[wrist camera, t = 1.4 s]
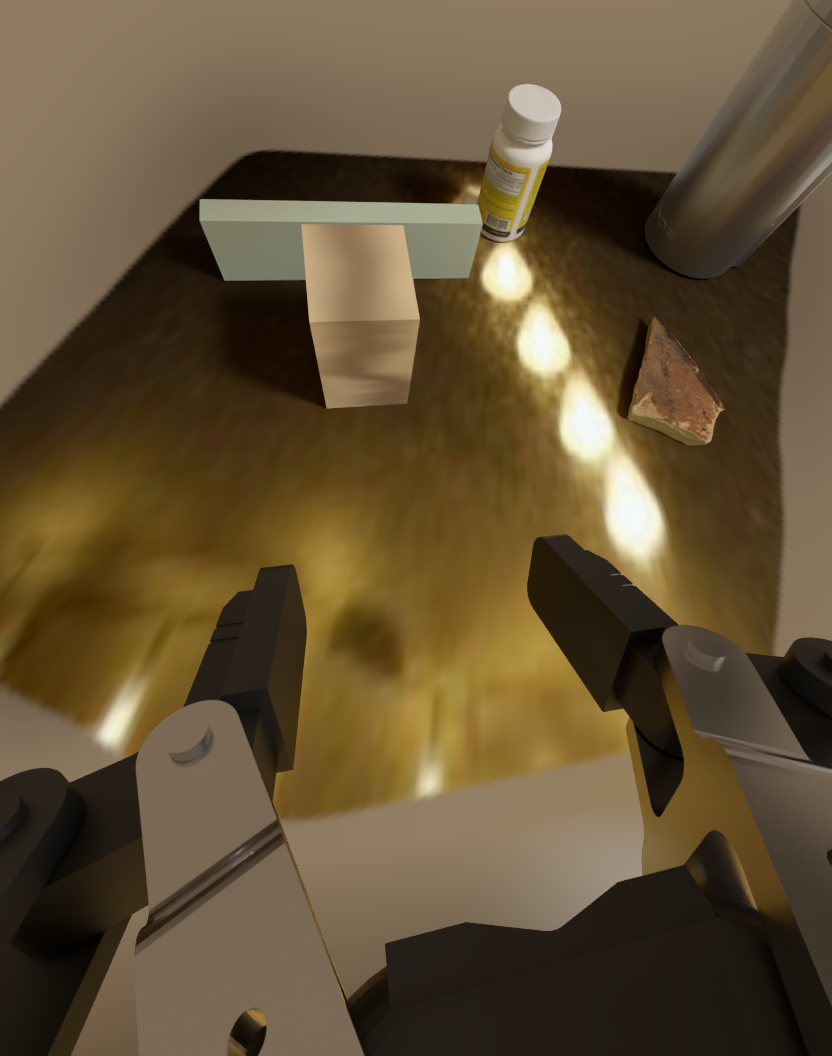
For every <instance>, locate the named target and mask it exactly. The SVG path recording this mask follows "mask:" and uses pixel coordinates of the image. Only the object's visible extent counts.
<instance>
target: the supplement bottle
mask: <svg viewBox="0 0 832 1056" xmlns="http://www.w3.org/2000/svg"><path fill="white" fill-rule="evenodd" d="M560 113H561V105H560V102H559V100H558V99H557V97H556V96H555V95H554V94H553V93H551V92H550V91H549V90H547V89H545V88H543V87H540V86H537V85H530V84H524V85H519V86H516V87H514V88H513V89H512V90H511V91H510V93H509V95H508V98H507V102H506V105H505V109H504V112H503V117H502V123H501V124H500V125H499V126H498V127H497V129H496V131H495V133H494V136H493V139H492V143H491V147H490V152H489V156H488V160H487V165H486V169H485V173H484V177H483V182H482V186H481V190H480V194H479V199H478V203H477V204H478V206H479V210H480V214H481V218H482V222H483V226H482V229H481V233H482V234H483V235H484V236H486V237H487V238H489V239H491V240H494V241H498V242H507V241H511V240H514V239H516V238H518V237H519V236H520V235H521V234H522V232H523V231H524V228H525V226H526V223H527V220H528V217H529V214H530V212H531V209H532V206H533V203H534V201H535V198H536V195H537V192H538V190H539V187H540V184H541V182H542V179H543V176H544V173H545V170H546V168H547V165H548V162H549V159H550V157H551V153H552V139H551V138H552V136H553V133H554V131H555V128H556V125H557V122H558V119H559V116H560Z"/></svg>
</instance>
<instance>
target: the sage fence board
mask: <svg viewBox="0 0 832 1056" xmlns="http://www.w3.org/2000/svg"><path fill="white" fill-rule="evenodd" d="M200 223H201V225H202V228H203V230H204V233H205V235H206V237H207V240H208V242H209V245H210V247H211V249H212V252H213V254H214V257H215V259H216V261H217V264H218V266H219V269H220V271H221V273H222V276H223V278H224V281H247V280H306V275H305V262H304V250H303V238H302V226H301V224H323V225H403V227H404V232H405V238H406V244H407V249H408V255H409V261H410V266H411V272H412V278H413V279H438V278H469V274H470V270H471V267H472V263H473V259H474V255H475V252H476V248H477V244H478V240H479V237H480V233H481V229H482V226H483V222H482V218H481V214H480V210H479V206H478V204H430V203H377V202H324V201H270V200H217V199H200Z"/></svg>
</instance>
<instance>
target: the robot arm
mask: <svg viewBox="0 0 832 1056" xmlns="http://www.w3.org/2000/svg"><path fill="white" fill-rule="evenodd" d="M831 173H832V0H791V1H790V3H789V4H788V6H787V7H786V9H785V10H784V12H783V14H782V15H781V17H780V18H779V19H778V21H777V23H776V24H775V26H774V27H773V29H772V30H771V32H770V34H769V35H768V36H767V38H766V39H765V41H764V42H763V44H762V45H761V47H760V49H759V50H758V51H757V53H756V55H755V56H754V58H753V59H752V61H751V62H750V64H749V65H748V67H747V69H746V70H745V71H744V73H743V74H742V76H741V77H740V79H739V80H738V82H737V84H736V85H735V86H734V88H733V90H732V91H731V93H730V94H729V96H728V97H727V99H726V100H725V102H724V103H723V105H722V106H721V108H720V109H719V111H718V113H717V114H716V115H715V117H714V118H713V120H712V121H711V123H710V124H709V126H708V127H707V129H706V131H705V132H704V134H703V135H702V137H701V138H700V140H699V141H698V143H697V144H696V146H695V147H694V149H693V150H692V152H691V153H690V155H689V157H688V158H687V160H686V161H685V162H684V164H683V165H682V167H681V169H680V170H679V171H678V173H677V175H676V176H675V178H674V179H673V181H672V182H671V184H670V185H669V187H668V188H667V190H666V191H665V193H664V195H663V196H662V198H661V199H660V201H659V202H658V204H657V205H656V207H655V208H654V210H653V211H652V213H651V214H650V216H649V217H648V219H647V220H646V223H645V227H644V234H645V238H646V242H647V244H648V246H649V248H650V249H651V251H652V252H653V253H654V255H655V256H656V257H657V258H658V259H659V260H660V261H661V262H662V263H663V264H665V265H666V266H668V267H669V268H671V269H672V270H674V271H676V272H678V273H680V274H683V275H686V276H689V277H693V278H700V279H707V278H714V277H718V276H719V275H721V274H723V273H725V272H726V271H727V270H728V269H729V268H730V267H732V266H740V265H741V264H742V263H743V262H744V261H745V260H746V259H747V258H748V257H749V256H750V255H751V253H752V252H753V251H754V250H755V249H756V248H757V247H758V246H759V245H760V244H761V243H762V242H763V241H764V240H765V239H766V238H767V237H768V236H769V235H770V234H771V233H772V232H773V231H774V230H775V229H776V228H777V227H778V226H779V225H780V224H781V223H782V222H783V221H784V220H785V219H786V218H787V217H788V216H789V215H790V214H791V213H792V212H793V211H794V210H795V209H796V208H797V207H798V206H799V205H800V204H801V203H802V202H803V201H804V200H805V199H806V198H807V197H808V196H809V195H810V194H811V193H812V192H813V191H814V190H815V189H816V188H817V187H818V186H819V185H820V184H821V183H822V182H823V181H824V180H825V179H826V178H827V176H829V174H831ZM527 592H528V597H529V601H530V603H531V605H532V607H533V609H534V610H535V612H536V613H537V615H538V616H539V618H540V619H541V621H542V622H543V624H544V625H545V627H546V628H547V630H548V631H549V633H550V634H551V636H552V637H553V639H554V640H555V642H556V643H557V644H558V646H559V647H560V649H561V650H562V652H563V653H564V655H565V656H566V658H567V659H568V661H569V662H570V664H571V665H572V667H573V668H574V670H575V671H576V673H577V674H578V676H579V677H580V679H581V680H582V682H583V683H584V685H585V686H586V688H587V689H588V691H589V692H590V694H591V695H592V697H593V698H594V700H595V701H596V703H597V704H598V705H599V707H600V708H601V710H602V711H603V712H606V711H612V710H617V709H622V708H624V710H625V711H626V713H627V714H628V715H629V719H628V722H627V725H626V733H627V738H628V743H629V749H630V754H631V759H632V764H633V770H634V774H635V779H636V785H637V790H638V795H639V801H640V806H641V811H642V816H643V823H644V841H643V848H642V876H640V877H637V878H632V879H628V880H625V881H621V882H618V883H616V884H615V885H614V886H613V887H611V888H610V889H609V890H608V891H606V892H605V893H604V894H603V895H601V896H600V897H599V898H597V899H596V900H595V901H594V902H592V903H591V904H590V905H589V906H587V907H586V908H585V909H584V910H583V911H581V912H580V913H579V914H577V915H576V916H575V917H573V918H572V919H571V920H570V921H569V922H567V923H566V924H565V925H564V926H562V927H561V928H559V929H557V930H553V931H540V930H531V929H522V928H512V927H503V926H494V925H485V924H476V923H467V922H465V923H462V924H458V925H454V926H450V927H446V928H443V929H438V930H435V931H431V932H427V933H423V934H420V935H416V936H412V937H408V938H404V939H400V940H397V941H393V942H389V943H386V944H385V948H386V949H385V950H386V963H387V966H386V967H385V968H383V969H382V970H380V971H379V972H378V973H376V974H375V975H374V976H372V977H371V978H370V979H368V980H367V981H366V982H365V983H364V984H363V985H362V986H361V987H360V988H359V989H358V990H357V991H356V992H355V993H354V994H353V995H352V996H350V998H349V999H347V997H346V994H345V992H344V989H343V986H342V984H341V981H340V978H339V976H338V973H337V971H336V968H335V965H334V963H333V960H332V957H331V955H330V953H329V949H328V947H327V944H326V941H325V939H324V936H323V934H322V931H321V929H320V926H319V923H318V921H317V918H316V916H315V913H314V910H313V908H312V905H311V903H310V900H309V897H308V895H307V892H306V889H305V887H304V884H303V881H302V879H301V876H300V873H299V871H298V868H297V865H296V863H295V860H294V857H293V855H292V852H291V850H290V847H289V844H288V842H287V839H286V836H285V834H284V831H283V828H282V826H281V823H280V820H279V818H278V815H277V812H276V810H275V807H274V804H273V802H272V801H273V794H274V787H275V780H276V773H277V772H283V771H288V770H293V766H294V756H295V746H296V736H297V726H298V716H299V707H300V697H301V687H302V677H303V667H304V657H305V647H306V637H307V627H306V616H305V611H304V606H303V601H302V597H301V592H300V587H299V583H298V578H297V573H296V570H295V567H294V565H284V566H275V567H266V568H261V569H260V571H259V573H258V576H257V580H256V583H255V586H254V589H253V590H250V591H241V592H238V593H237V594H236V595H235V596H234V597H233V598H232V599H231V600H230V601H229V602H228V603H227V604H226V606H225V607H224V608H223V610H222V612H221V615H220V617H219V620H218V622H217V625H216V626H217V628H216V629H215V630H214V632H213V635H212V637H211V640H210V641H211V643H210V644H209V645H208V647H207V650H206V652H205V655H204V657H203V660H202V662H201V665H200V667H199V670H198V672H197V675H196V677H195V680H194V682H193V685H192V687H191V690H190V692H189V695H188V697H187V700H186V702H185V705H184V707H183V708H181V709H179V710H178V711H176V712H174V713H173V714H171V715H170V716H168V717H167V718H166V719H164V720H163V721H162V722H161V723H160V724H159V725H158V726H157V727H156V728H155V729H154V730H153V731H152V732H151V733H150V734H149V736H148V737H147V738H146V740H145V741H144V743H143V745H142V746H141V749H140V751H139V752H137V753H135V754H133V755H131V756H129V757H127V758H125V759H123V760H121V761H118V762H116V763H114V764H112V765H109V766H107V767H105V768H103V769H100V770H98V771H95V772H93V773H91V774H89V775H86V776H84V777H82V778H80V779H77V780H75V781H73V782H70V783H69V782H68V780H66V778H65V777H64V776H63V775H62V774H61V773H60V772H59V771H57V770H54V769H50V768H38V769H31V770H28V771H24V772H20V773H18V774H15V775H13V776H10V777H8V778H6V779H4V780H2V781H0V1056H71V1054H72V1052H73V1049H74V1047H75V1045H76V1042H77V1040H78V1038H79V1035H80V1033H81V1031H82V1029H83V1026H84V1024H85V1022H86V1019H87V1017H88V1015H89V1012H90V1010H91V1008H92V1006H93V1003H94V1001H95V999H96V996H97V994H98V992H99V989H100V987H101V985H102V982H103V980H104V978H105V975H106V973H107V971H108V969H109V966H110V964H111V962H112V959H113V957H114V955H115V952H116V950H117V948H118V945H119V943H120V941H121V939H122V936H123V934H124V932H125V929H126V927H127V924H128V923H129V920H130V918H131V916H132V914H134V913H135V912H137V911H139V910H140V909H142V908H144V907H145V906H147V905H149V916H148V921H147V924H146V926H144V927H143V928H142V929H141V930H140V932H139V933H138V936H137V939H136V945H135V953H134V983H135V998H136V1014H137V1029H138V1045H139V1056H832V641H829V640H825V639H819V638H801V639H798V640H796V641H794V643H793V644H792V645H791V647H790V648H789V650H788V651H787V653H786V654H785V656H784V657H777V656H768V655H758V654H749V653H744V652H743V651H742V650H741V649H740V648H739V647H738V646H737V645H736V644H734V643H733V642H731V641H730V640H728V639H726V638H725V637H723V636H721V635H719V634H717V633H715V632H712V631H710V630H707V629H704V628H700V627H695V626H688V625H678V624H677V623H676V622H675V621H674V620H673V619H672V618H670V617H669V616H668V615H667V614H666V613H665V612H664V611H663V610H662V609H660V608H659V607H658V606H657V605H656V604H655V603H654V602H653V601H652V600H650V599H649V598H648V597H647V596H646V595H645V594H644V593H643V592H642V591H640V590H639V589H638V588H637V587H636V586H633V585H632V582H630V581H629V580H628V579H627V578H626V577H625V576H624V575H622V576H621V573H620V572H619V571H618V570H617V569H616V568H615V567H614V566H613V565H612V564H610V563H609V562H608V561H607V560H605V559H603V558H602V557H600V556H598V555H596V554H594V553H592V552H590V551H588V550H586V551H585V550H584V549H583V548H581V547H580V546H579V545H578V544H577V543H576V542H575V541H574V540H573V539H572V538H571V537H570V536H568V535H566V534H563V535H554V536H545V537H538V538H537V539H536V540H535V542H534V545H533V551H532V557H531V563H530V570H529V576H528V583H527Z"/></svg>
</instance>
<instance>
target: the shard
mask: <svg viewBox="0 0 832 1056" xmlns="http://www.w3.org/2000/svg"><path fill="white" fill-rule="evenodd" d="M724 409H725V408H724V406H723V405H722V403H721V401H720V399H719V398H718V397H717V395H716V393H715V391H714V390H713V389H712V387H711V386H710V385H708V383H707V382H706V379H705V377H704V376H703V374H702V372H701V371H700V370H699V369H698V367H697V365H696V364H695V362H694V361H693V360H692V359H691V358H690V356H689V354H688V353H687V352H686V351H685V350H684V348H683V347H682V346H681V345H680V343H679V342H678V341H677V340H676V338H675V337H673V335H672V334H671V333H670V331H669V330H668V328H667V327H666V326H665V324H664V322H663V321H662V320H661V319H660V317H659V315H658V314H655V317H654V319H653V321H652V322H651V324H650V325H649V326H648V332H647V337H646V347H645V354H644V356H643V360H642V366H641V368H640V372H639V377H638V380H637V382H636V384H635V387H634V392H633V399H632V402H631V405H630V407H629V413H628V418H627V419H628V420H630V421H633V422H636V423H639V424H641V425H644V426H646V427H649V428H652V429H655V430H657V431H661V432H662V433H664V434H666V435H668V436H670V437H672V438H674V439H675V440H678V441H681V442H683V443H684V444H686V445H692V446H694V445H705V444H707V443H709V442H710V441H711V438H712V435H713V428H714V423H715V421H716V418H717V417H718V414H719V412H720V411H722V410H724Z"/></svg>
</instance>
